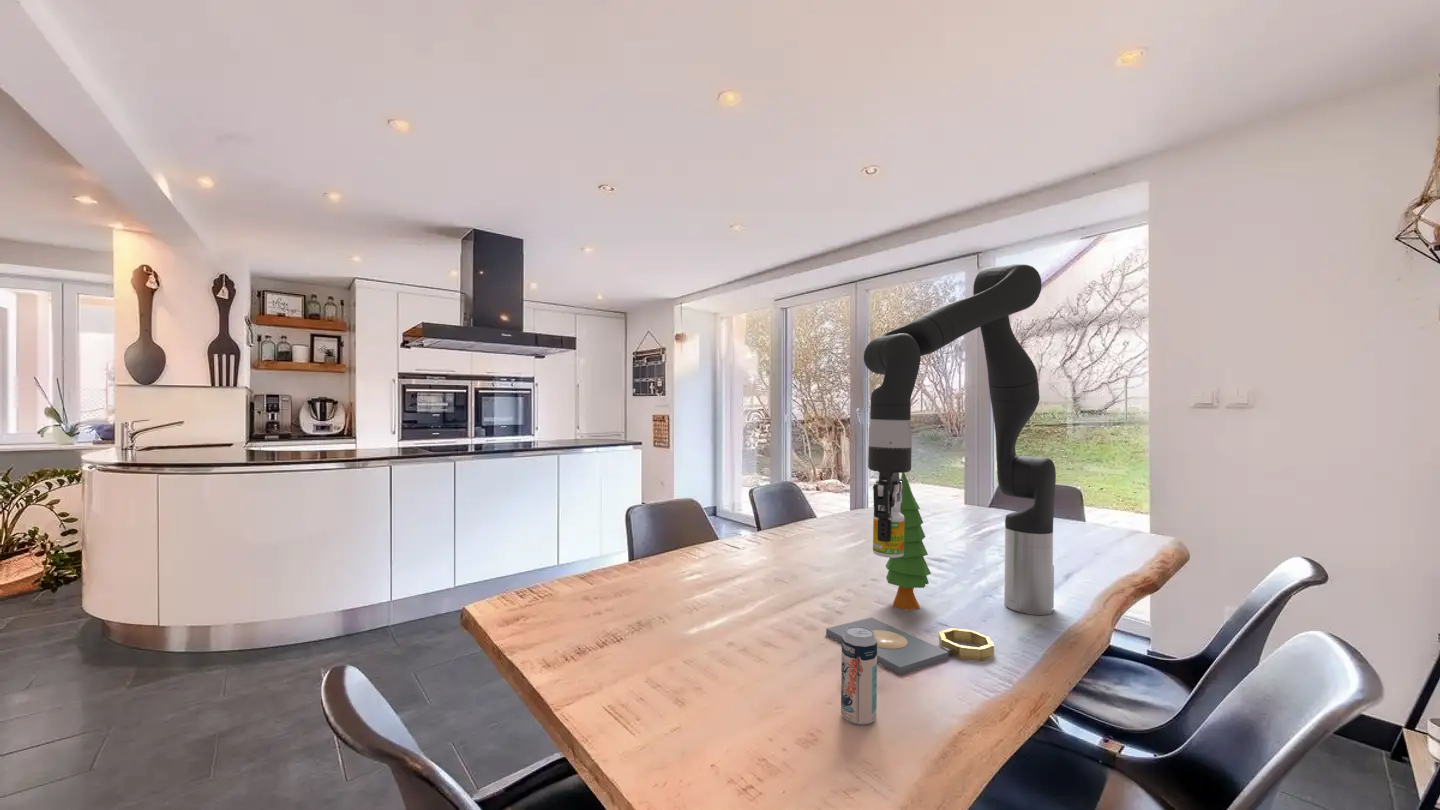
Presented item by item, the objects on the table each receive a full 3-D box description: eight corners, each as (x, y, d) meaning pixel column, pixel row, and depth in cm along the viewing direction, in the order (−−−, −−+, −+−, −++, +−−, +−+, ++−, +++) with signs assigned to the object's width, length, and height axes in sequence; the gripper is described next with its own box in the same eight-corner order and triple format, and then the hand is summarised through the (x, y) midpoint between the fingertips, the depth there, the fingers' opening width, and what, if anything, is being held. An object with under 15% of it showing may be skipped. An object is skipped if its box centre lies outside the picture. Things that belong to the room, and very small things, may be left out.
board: (871, 623, 111) (871, 616, 111) (948, 658, 96) (948, 651, 96) (826, 634, 105) (826, 627, 105) (900, 674, 90) (900, 666, 90)
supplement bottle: (884, 559, 96) (885, 503, 97) (866, 551, 102) (867, 498, 102) (910, 557, 98) (911, 502, 98) (891, 549, 103) (892, 498, 103)
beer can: (836, 709, 79) (837, 625, 79) (869, 707, 79) (869, 624, 80) (847, 728, 74) (848, 639, 74) (881, 727, 75) (882, 638, 75)
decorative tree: (876, 603, 123) (878, 468, 123) (899, 594, 129) (901, 466, 129) (916, 616, 115) (918, 472, 116) (939, 606, 121) (940, 470, 122)
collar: (964, 634, 106) (964, 624, 106) (1006, 652, 98) (1006, 641, 98) (925, 646, 100) (925, 635, 100) (967, 666, 93) (967, 654, 93)
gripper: (903, 447, 92) (901, 549, 92) (918, 444, 105) (916, 533, 104) (858, 445, 96) (856, 543, 96) (878, 442, 108) (876, 528, 108)
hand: (888, 537), depth 100 cm, fingers closed on supplement bottle, 5 cm apart
